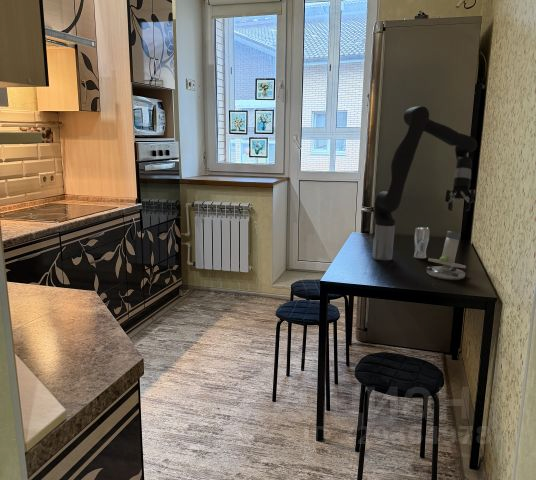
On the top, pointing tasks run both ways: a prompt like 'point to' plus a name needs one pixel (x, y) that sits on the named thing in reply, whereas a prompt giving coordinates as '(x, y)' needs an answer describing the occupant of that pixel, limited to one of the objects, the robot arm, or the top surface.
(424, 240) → the beer glass
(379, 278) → the top surface
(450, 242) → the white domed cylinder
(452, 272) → the base
